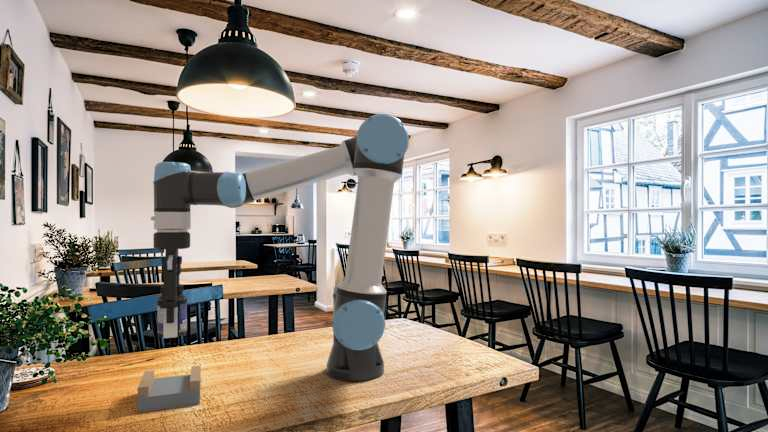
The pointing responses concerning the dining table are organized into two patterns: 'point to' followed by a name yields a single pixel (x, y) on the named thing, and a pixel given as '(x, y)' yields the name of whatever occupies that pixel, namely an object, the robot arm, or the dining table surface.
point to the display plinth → (169, 391)
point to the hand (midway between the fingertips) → (171, 333)
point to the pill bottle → (180, 312)
